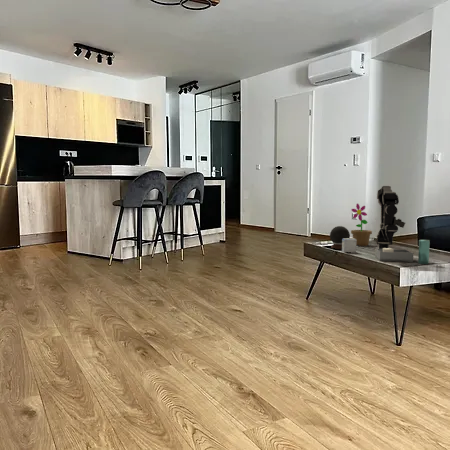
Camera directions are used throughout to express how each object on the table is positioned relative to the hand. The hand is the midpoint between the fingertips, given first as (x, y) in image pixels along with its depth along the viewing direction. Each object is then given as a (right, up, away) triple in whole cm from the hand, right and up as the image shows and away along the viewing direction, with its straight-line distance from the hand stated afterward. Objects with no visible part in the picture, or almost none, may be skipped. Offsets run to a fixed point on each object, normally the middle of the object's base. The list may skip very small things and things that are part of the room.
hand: (388, 241), depth 239 cm
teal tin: (+15, -11, -12) cm, 22 cm away
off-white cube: (0, -9, +1) cm, 9 cm away
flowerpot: (+5, -5, +64) cm, 64 cm away
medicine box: (-14, -8, +28) cm, 32 cm away
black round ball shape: (-15, -6, +47) cm, 50 cm away
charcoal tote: (+3, -10, 0) cm, 11 cm away
